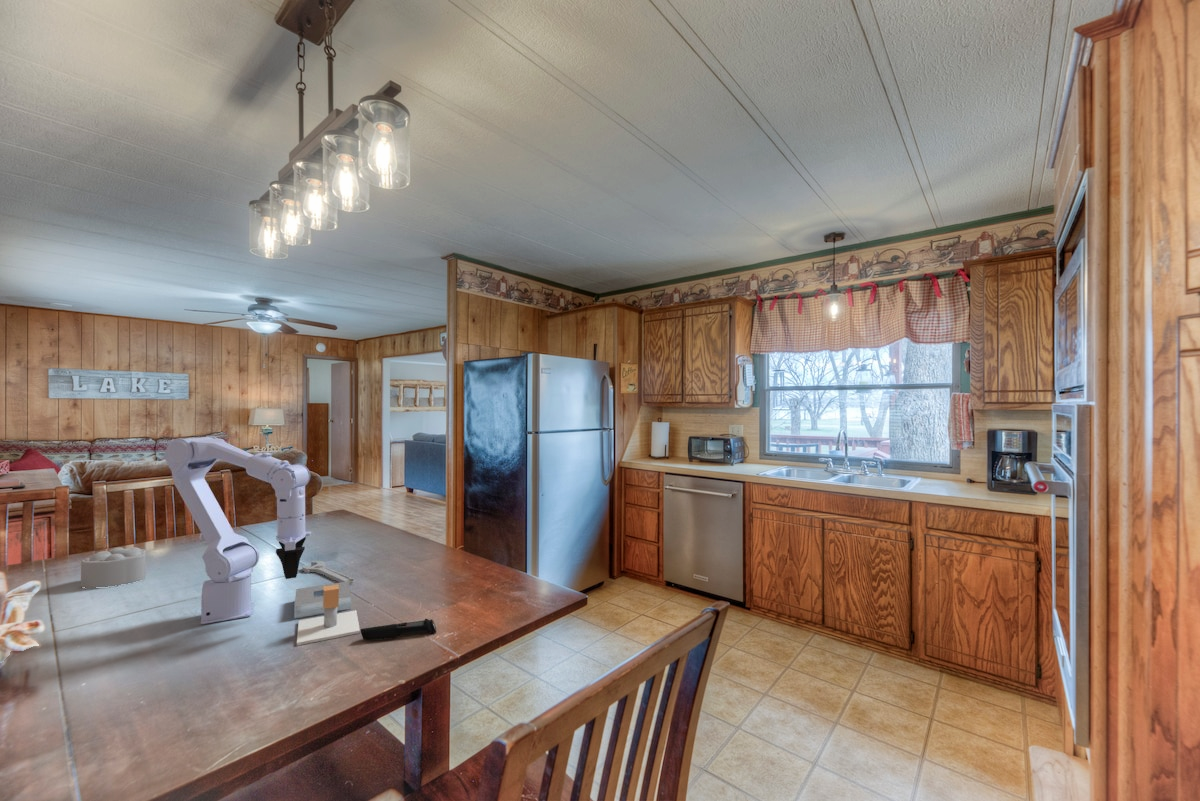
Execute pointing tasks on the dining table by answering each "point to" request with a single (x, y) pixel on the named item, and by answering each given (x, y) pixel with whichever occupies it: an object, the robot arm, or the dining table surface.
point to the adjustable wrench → (327, 572)
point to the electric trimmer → (398, 630)
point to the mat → (316, 631)
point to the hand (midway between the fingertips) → (291, 573)
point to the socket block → (319, 600)
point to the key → (330, 605)
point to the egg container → (113, 567)
